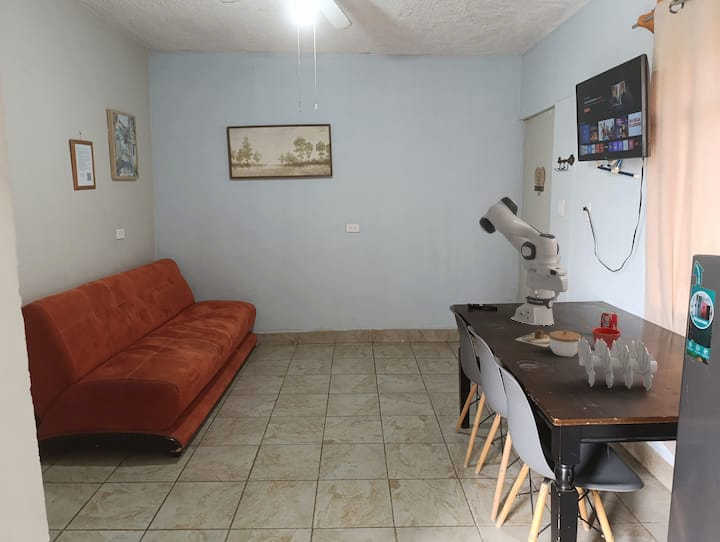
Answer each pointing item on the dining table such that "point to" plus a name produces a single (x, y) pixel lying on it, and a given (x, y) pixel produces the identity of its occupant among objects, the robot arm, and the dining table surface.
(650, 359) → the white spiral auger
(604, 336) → the flower pot
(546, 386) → the dining table surface
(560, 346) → the lidded bowl
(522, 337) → the mat
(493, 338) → the dining table surface
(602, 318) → the soda can
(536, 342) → the lid
